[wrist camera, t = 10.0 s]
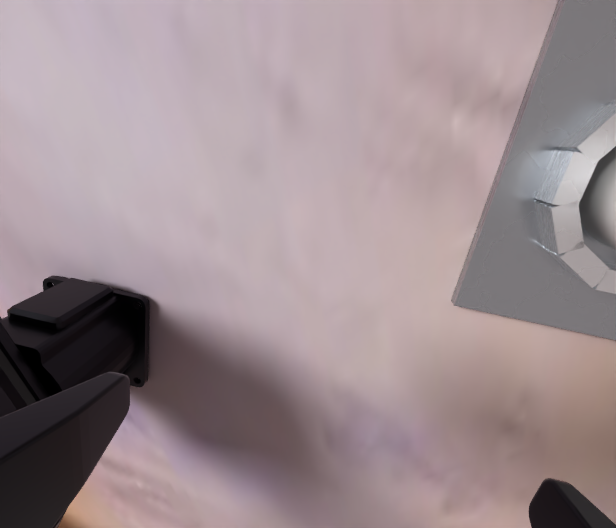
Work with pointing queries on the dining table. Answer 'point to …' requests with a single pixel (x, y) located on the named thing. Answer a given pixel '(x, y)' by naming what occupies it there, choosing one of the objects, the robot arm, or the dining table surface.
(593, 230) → the cylinder
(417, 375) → the dining table surface
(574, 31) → the plate
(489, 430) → the dining table surface
